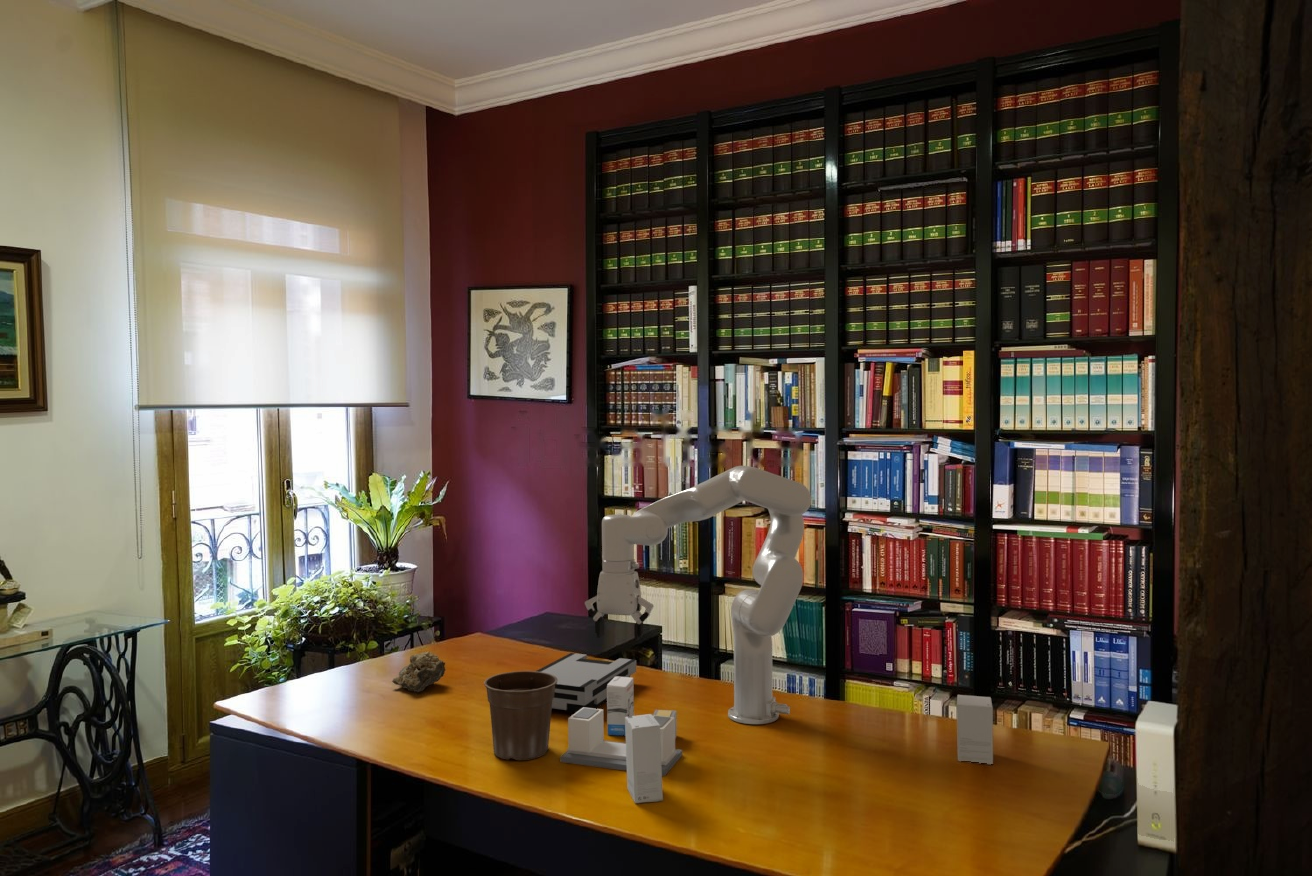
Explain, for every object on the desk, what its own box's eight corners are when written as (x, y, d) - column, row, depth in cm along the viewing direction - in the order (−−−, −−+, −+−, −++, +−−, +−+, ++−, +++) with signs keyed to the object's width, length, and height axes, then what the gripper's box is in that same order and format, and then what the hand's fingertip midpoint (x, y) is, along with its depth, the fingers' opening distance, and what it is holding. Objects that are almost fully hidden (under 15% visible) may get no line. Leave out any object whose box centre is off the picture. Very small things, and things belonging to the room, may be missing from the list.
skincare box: (663, 801, 174) (662, 725, 174) (633, 805, 173) (632, 728, 172) (653, 784, 182) (653, 712, 182) (624, 787, 181) (624, 714, 181)
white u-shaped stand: (682, 755, 198) (682, 714, 198) (664, 775, 187) (664, 732, 186) (583, 743, 206) (582, 703, 206) (560, 762, 195) (560, 720, 194)
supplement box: (992, 753, 198) (992, 696, 197) (993, 766, 191) (993, 707, 190) (957, 749, 200) (957, 693, 200) (956, 761, 193) (956, 703, 193)
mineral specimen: (380, 689, 249) (380, 653, 249) (417, 677, 259) (417, 643, 259) (415, 698, 241) (415, 661, 240) (452, 686, 251) (451, 650, 251)
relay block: (676, 736, 210) (676, 709, 210) (672, 745, 204) (672, 718, 204) (655, 735, 211) (655, 708, 211) (651, 744, 205) (651, 717, 205)
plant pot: (529, 733, 212) (528, 666, 212) (572, 751, 201) (572, 679, 201) (470, 751, 201) (470, 680, 201) (513, 771, 190) (512, 695, 189)
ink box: (626, 736, 210) (626, 687, 210) (606, 735, 211) (605, 685, 211) (634, 724, 218) (634, 676, 218) (615, 723, 219) (614, 675, 219)
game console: (636, 684, 252) (636, 655, 252) (584, 720, 223) (584, 687, 222) (570, 676, 260) (570, 648, 260) (512, 710, 230) (512, 678, 230)
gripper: (657, 565, 214) (658, 636, 215) (591, 562, 220) (592, 632, 220) (646, 570, 207) (647, 644, 207) (578, 567, 213) (579, 639, 213)
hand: (619, 638), depth 214 cm, fingers open, 9 cm apart
